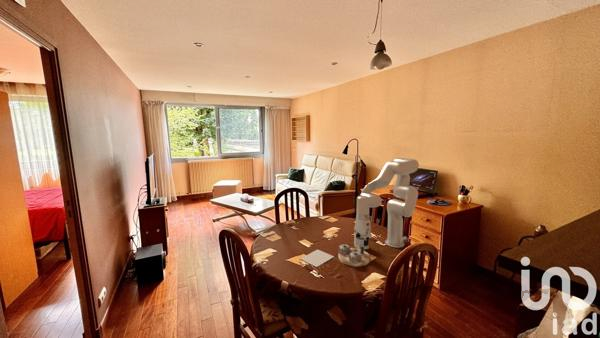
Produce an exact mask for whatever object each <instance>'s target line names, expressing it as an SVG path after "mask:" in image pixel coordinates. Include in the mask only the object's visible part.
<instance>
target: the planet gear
mask: <svg viewBox="0 0 600 338" xmlns="http://www.w3.org/2000/svg"><path fill="white" fill-rule="evenodd" d="M364 240H365V238H364V237H361V236H360V237H357V238H356V245H358V246H360V247H366V246H364Z"/></svg>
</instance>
